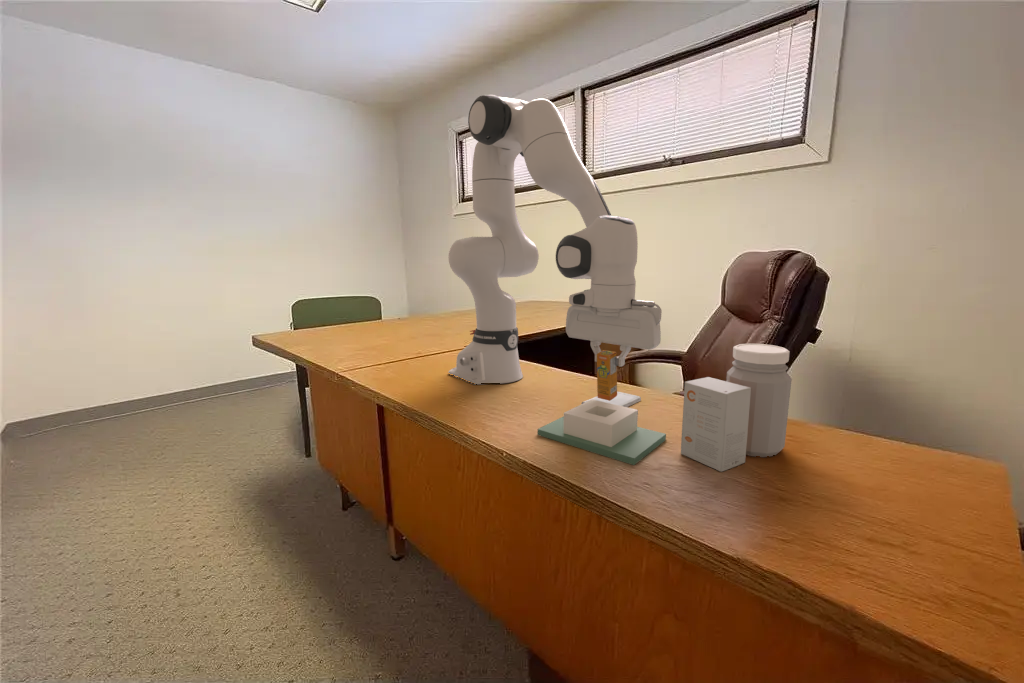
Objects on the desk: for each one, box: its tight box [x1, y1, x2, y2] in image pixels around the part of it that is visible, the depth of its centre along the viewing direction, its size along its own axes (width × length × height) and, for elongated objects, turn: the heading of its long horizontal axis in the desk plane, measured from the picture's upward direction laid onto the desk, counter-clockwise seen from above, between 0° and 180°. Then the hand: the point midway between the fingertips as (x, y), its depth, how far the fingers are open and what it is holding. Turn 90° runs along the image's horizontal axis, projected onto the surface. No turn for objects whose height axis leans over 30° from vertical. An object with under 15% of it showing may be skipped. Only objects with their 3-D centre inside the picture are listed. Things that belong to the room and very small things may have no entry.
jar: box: [725, 343, 793, 458], centre depth 78 cm, size 10×10×18 cm
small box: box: [680, 376, 751, 473], centre depth 74 cm, size 8×6×13 cm
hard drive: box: [580, 390, 642, 408], centre depth 104 cm, size 2×8×12 cm
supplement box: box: [596, 349, 618, 401], centre depth 93 cm, size 3×3×10 cm
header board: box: [537, 398, 667, 466], centre depth 84 cm, size 20×13×5 cm, turn 49°
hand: (609, 363), depth 94 cm, fingers closed on supplement box, 3 cm apart
